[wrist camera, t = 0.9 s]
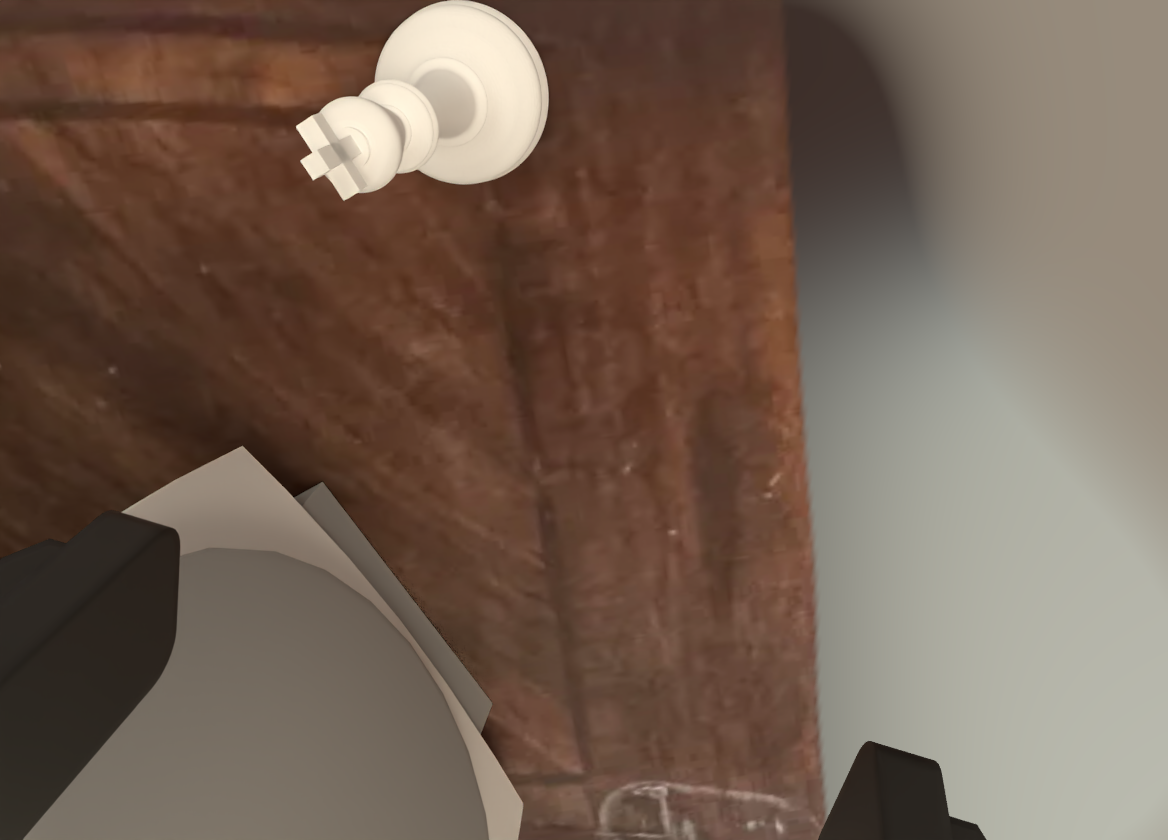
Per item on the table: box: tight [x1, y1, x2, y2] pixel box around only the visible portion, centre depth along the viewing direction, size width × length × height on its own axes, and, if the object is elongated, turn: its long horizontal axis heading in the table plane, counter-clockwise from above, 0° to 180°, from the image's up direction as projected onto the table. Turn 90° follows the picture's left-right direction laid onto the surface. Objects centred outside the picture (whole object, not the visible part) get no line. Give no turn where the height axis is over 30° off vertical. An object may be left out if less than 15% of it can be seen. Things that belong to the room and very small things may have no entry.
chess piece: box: [296, 0, 549, 201], centre depth 25 cm, size 5×5×10 cm
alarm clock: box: [23, 446, 523, 840], centre depth 29 cm, size 18×8×20 cm, turn 33°
